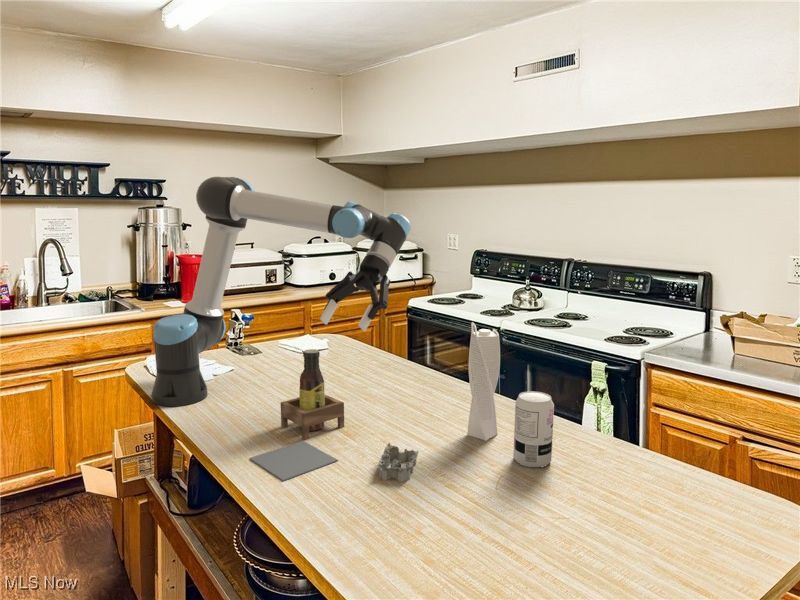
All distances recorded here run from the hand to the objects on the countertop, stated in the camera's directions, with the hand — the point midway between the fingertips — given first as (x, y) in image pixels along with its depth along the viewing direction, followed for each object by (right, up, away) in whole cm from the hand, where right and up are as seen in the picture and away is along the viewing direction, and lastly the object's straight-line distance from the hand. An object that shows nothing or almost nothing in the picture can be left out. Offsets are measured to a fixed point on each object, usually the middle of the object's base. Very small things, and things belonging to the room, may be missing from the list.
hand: (341, 325), depth 155 cm
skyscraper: (+35, -27, -8) cm, 45 cm away
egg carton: (+15, -30, -27) cm, 43 cm away
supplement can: (+45, -29, -23) cm, 58 cm away
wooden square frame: (-7, -26, -4) cm, 27 cm away
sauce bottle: (-7, -26, -4) cm, 27 cm away
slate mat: (-9, -29, -23) cm, 38 cm away
